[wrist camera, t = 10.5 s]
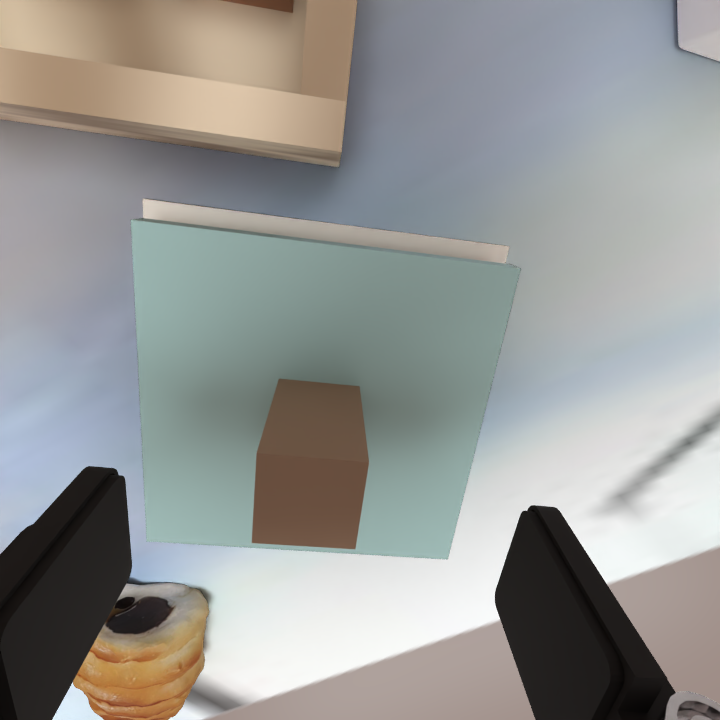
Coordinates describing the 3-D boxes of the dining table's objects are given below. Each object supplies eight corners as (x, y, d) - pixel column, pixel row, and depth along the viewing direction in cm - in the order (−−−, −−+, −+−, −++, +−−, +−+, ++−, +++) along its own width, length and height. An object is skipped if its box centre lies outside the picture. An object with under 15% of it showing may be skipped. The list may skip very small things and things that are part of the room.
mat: (506, 246, 18) (509, 247, 18) (440, 524, 23) (441, 529, 22) (145, 199, 17) (142, 199, 16) (157, 505, 21) (154, 509, 21)
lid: (496, 258, 18) (602, 302, 11) (435, 520, 22) (482, 672, 15) (159, 215, 16) (30, 233, 9) (167, 502, 21) (83, 658, 14)
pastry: (207, 696, 27) (187, 774, 23) (89, 689, 26) (50, 769, 22) (215, 578, 24) (194, 648, 20) (81, 567, 23) (34, 637, 19)
